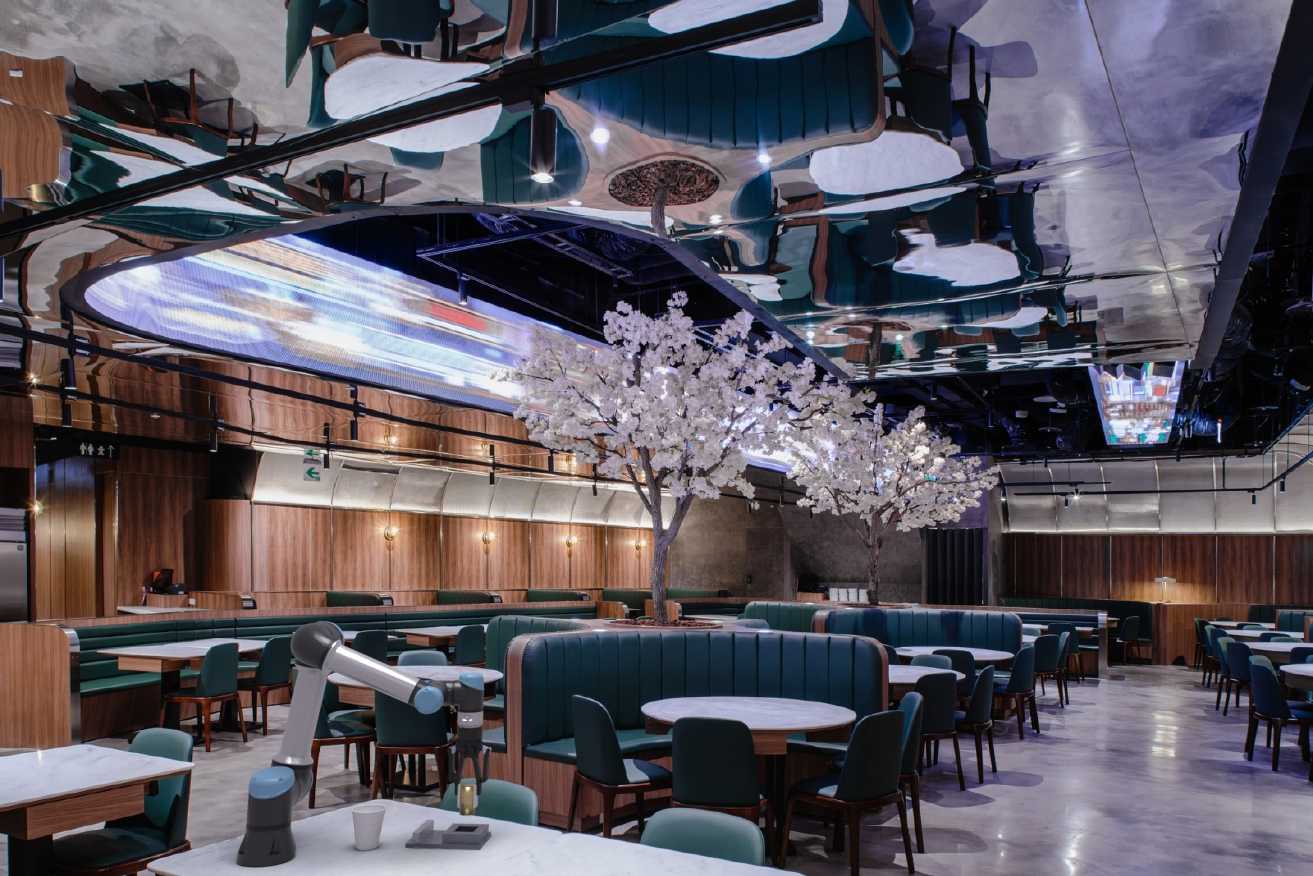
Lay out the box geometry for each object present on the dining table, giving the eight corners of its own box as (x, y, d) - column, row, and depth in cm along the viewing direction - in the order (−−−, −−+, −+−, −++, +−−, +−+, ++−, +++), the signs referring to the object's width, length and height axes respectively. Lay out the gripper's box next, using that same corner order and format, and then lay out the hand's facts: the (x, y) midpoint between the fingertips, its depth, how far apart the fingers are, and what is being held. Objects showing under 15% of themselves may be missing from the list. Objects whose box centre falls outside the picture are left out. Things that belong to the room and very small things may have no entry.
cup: (373, 854, 253) (376, 813, 255) (342, 851, 255) (344, 811, 257) (390, 844, 263) (392, 805, 265) (360, 841, 265) (362, 803, 267)
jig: (405, 847, 260) (405, 832, 260) (420, 834, 273) (421, 819, 274) (479, 849, 258) (480, 834, 259) (491, 835, 272) (491, 821, 273)
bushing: (458, 815, 265) (459, 787, 266) (461, 811, 269) (462, 784, 270) (472, 816, 264) (473, 787, 266) (476, 812, 269) (477, 784, 270)
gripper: (438, 727, 267) (435, 809, 264) (495, 728, 266) (492, 810, 263) (445, 723, 275) (443, 803, 271) (500, 724, 274) (498, 804, 270)
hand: (467, 806), depth 267 cm, fingers closed on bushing, 4 cm apart
